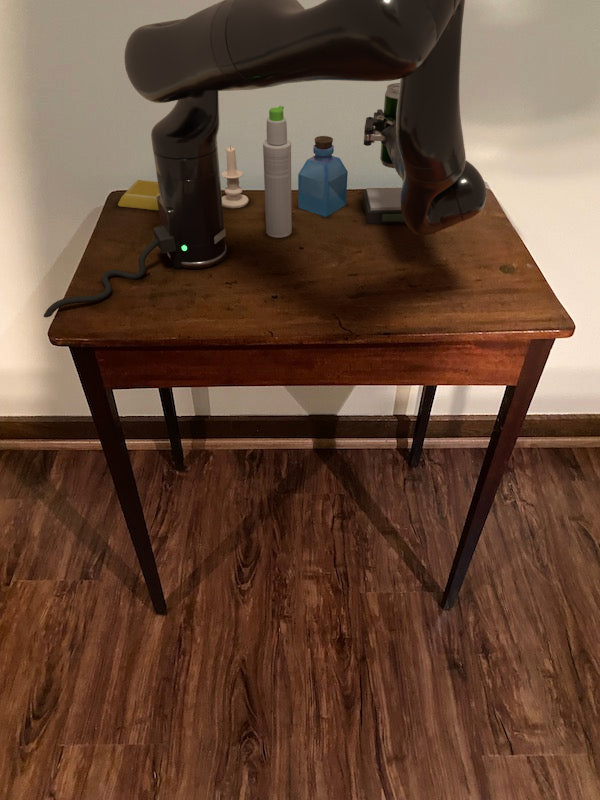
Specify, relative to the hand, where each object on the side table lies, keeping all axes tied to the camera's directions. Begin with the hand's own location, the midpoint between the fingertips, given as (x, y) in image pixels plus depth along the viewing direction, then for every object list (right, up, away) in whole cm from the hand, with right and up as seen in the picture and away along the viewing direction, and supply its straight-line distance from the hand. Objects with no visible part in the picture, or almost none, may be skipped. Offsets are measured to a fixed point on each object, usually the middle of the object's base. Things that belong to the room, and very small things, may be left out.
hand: (396, 115), depth 110 cm
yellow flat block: (-44, -8, +11) cm, 46 cm away
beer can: (0, -7, +3) cm, 8 cm away
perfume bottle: (-12, -12, +11) cm, 20 cm away
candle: (-28, -11, +12) cm, 32 cm away
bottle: (-20, -19, +3) cm, 27 cm away
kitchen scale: (0, -14, +9) cm, 16 cm away
